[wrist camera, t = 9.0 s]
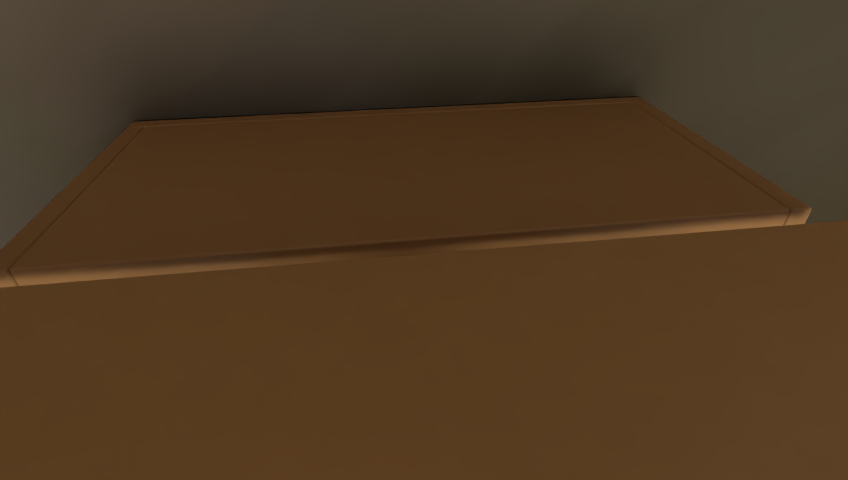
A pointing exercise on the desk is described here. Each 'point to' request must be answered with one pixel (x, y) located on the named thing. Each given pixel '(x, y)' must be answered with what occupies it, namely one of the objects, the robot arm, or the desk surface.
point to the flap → (444, 366)
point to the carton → (385, 189)
